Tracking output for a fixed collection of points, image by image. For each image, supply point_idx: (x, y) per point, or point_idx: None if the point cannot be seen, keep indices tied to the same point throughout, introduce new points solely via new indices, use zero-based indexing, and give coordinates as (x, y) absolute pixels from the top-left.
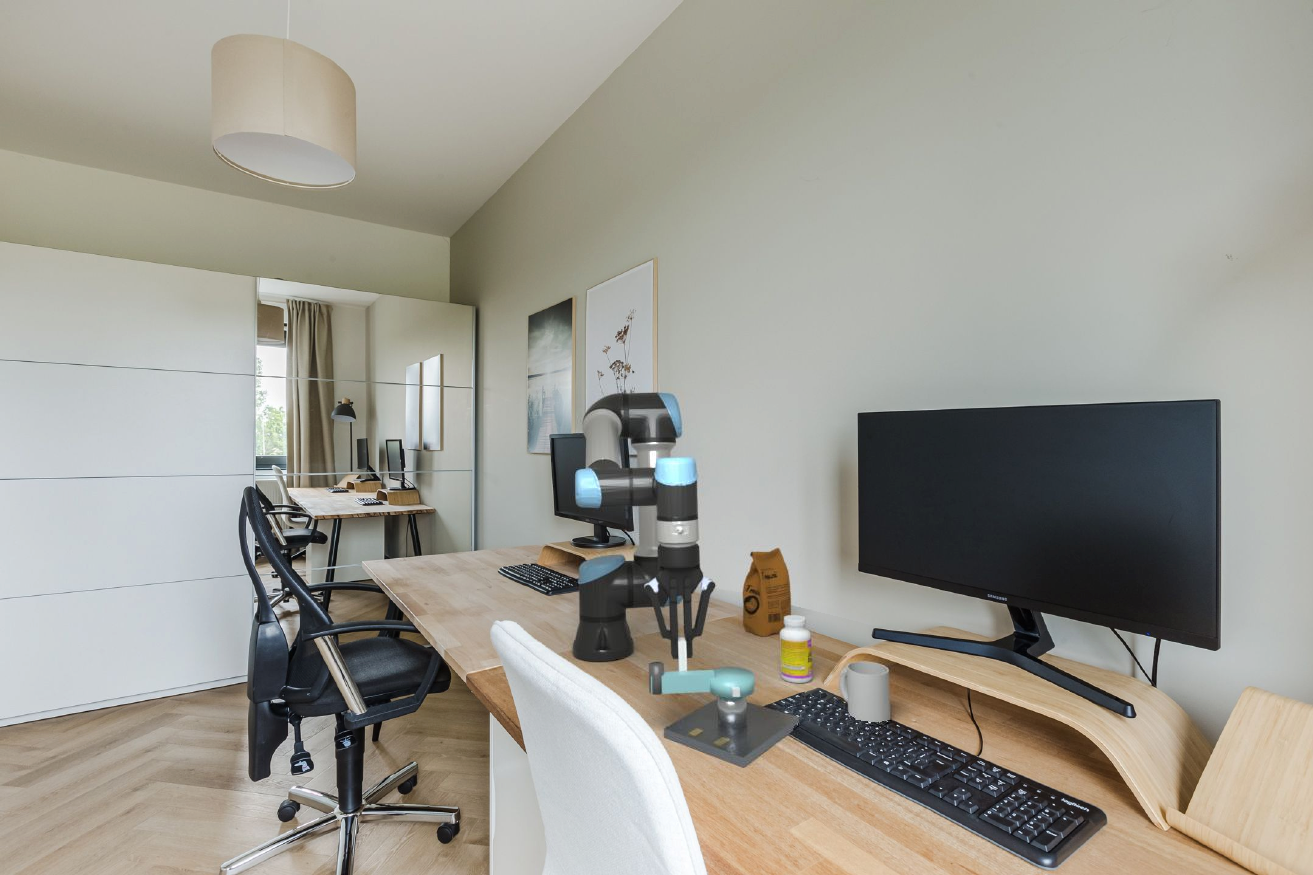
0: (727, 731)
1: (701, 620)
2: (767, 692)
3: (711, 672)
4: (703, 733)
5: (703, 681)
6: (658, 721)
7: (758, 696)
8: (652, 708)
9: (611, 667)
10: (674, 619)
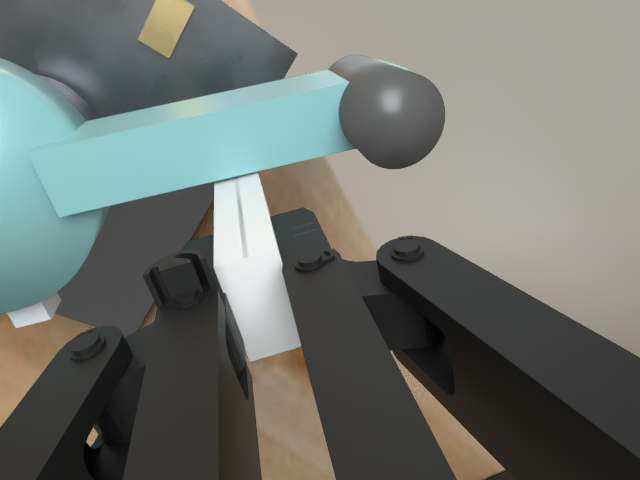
0: (39, 50)
1: (12, 463)
2: (9, 413)
3: (57, 176)
4: (135, 22)
5: (109, 127)
6: (326, 166)
7: (32, 383)
8: (355, 249)
9: (484, 449)
10: (353, 378)
